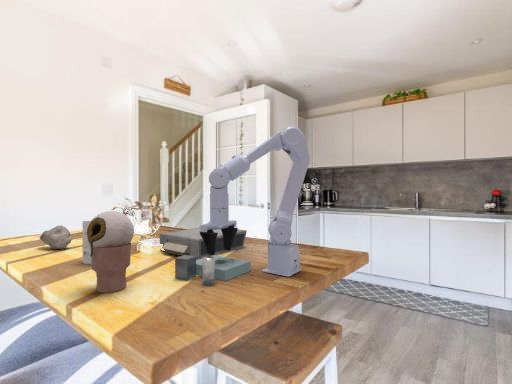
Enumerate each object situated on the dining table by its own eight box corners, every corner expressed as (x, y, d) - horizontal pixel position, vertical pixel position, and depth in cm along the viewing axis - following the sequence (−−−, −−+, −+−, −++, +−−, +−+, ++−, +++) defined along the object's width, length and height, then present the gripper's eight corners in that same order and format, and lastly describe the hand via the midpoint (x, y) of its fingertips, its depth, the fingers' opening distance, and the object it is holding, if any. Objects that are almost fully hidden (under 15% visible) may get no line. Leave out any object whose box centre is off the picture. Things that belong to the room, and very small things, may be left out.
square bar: (196, 276, 85) (196, 256, 85) (187, 280, 81) (187, 259, 81) (184, 274, 87) (184, 254, 87) (175, 278, 83) (175, 258, 83)
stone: (59, 245, 131) (59, 223, 131) (76, 248, 124) (76, 225, 124) (36, 248, 124) (36, 225, 124) (53, 252, 117) (53, 227, 116)
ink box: (112, 262, 102) (112, 220, 101) (101, 265, 97) (100, 221, 97) (94, 260, 104) (93, 219, 104) (81, 263, 100) (81, 220, 99)
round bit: (217, 283, 79) (217, 257, 79) (208, 286, 76) (208, 260, 76) (208, 280, 81) (208, 255, 81) (199, 284, 78) (199, 258, 78)
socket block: (250, 270, 91) (250, 261, 91) (225, 281, 81) (225, 270, 81) (214, 263, 99) (214, 255, 99) (188, 272, 89) (187, 262, 89)
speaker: (192, 263, 102) (247, 248, 126) (192, 240, 102) (247, 229, 126) (153, 253, 117) (209, 241, 140) (153, 233, 116) (209, 225, 140)
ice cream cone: (77, 295, 70) (76, 212, 70) (103, 281, 81) (102, 209, 81) (121, 296, 69) (120, 213, 69) (141, 281, 80) (140, 209, 80)
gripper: (224, 206, 98) (225, 246, 98) (192, 209, 86) (193, 255, 86) (241, 207, 94) (241, 249, 94) (210, 210, 82) (210, 258, 82)
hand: (219, 252), depth 90 cm, fingers open, 7 cm apart
